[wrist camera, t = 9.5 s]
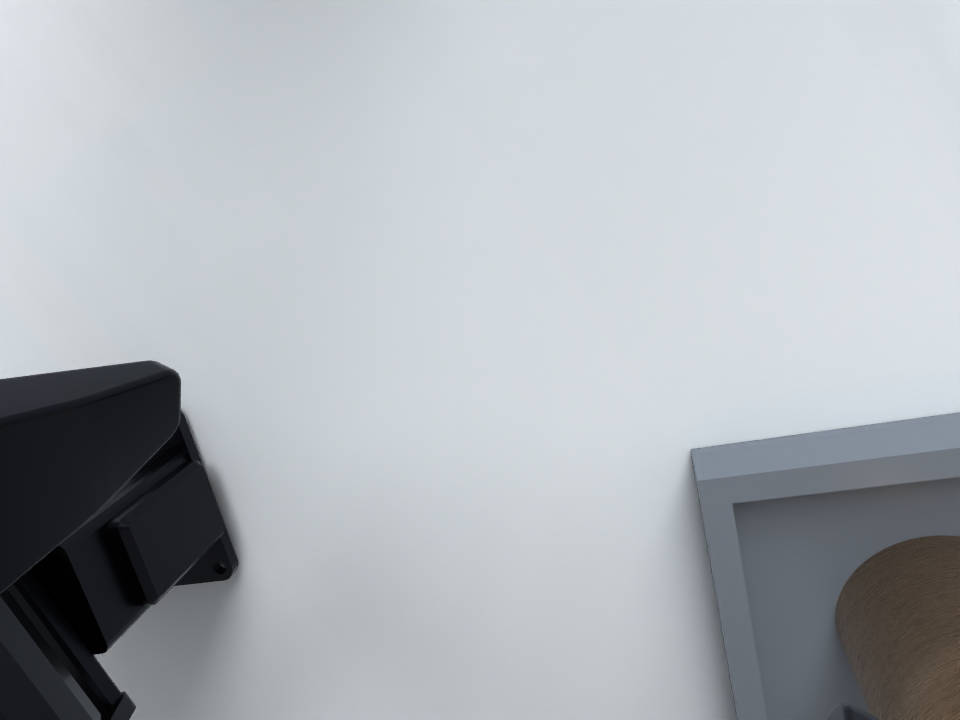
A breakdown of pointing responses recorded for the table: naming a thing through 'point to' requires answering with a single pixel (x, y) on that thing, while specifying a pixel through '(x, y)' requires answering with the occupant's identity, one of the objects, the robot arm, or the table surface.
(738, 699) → the tray
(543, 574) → the table surface
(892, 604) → the can
